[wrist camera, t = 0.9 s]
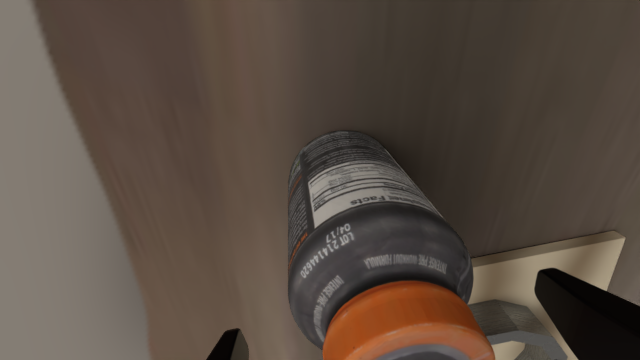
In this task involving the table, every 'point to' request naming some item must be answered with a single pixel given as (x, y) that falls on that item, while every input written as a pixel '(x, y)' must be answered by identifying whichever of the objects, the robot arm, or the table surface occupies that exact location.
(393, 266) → the pill bottle
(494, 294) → the ring holder
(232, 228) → the table surface
